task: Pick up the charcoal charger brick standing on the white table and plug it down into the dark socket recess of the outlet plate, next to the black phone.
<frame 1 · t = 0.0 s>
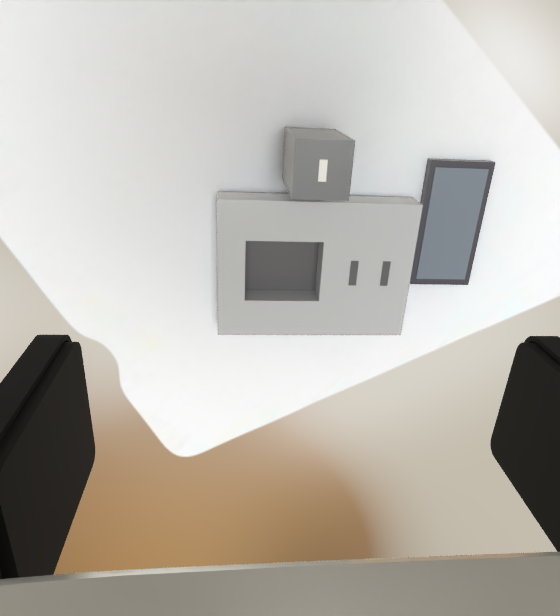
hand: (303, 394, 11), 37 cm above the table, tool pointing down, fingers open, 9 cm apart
outlet plate: (311, 261, 48), on the table
phone: (445, 222, 48), on the table
charger: (308, 154, 44), on the table
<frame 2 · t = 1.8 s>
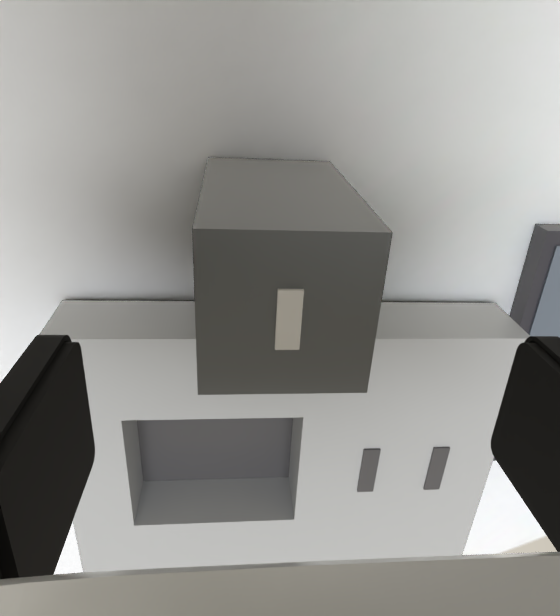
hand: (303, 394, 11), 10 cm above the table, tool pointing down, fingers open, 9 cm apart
outlet plate: (280, 424, 24), on the table
phone: (557, 344, 24), on the table
charger: (267, 218, 19), on the table
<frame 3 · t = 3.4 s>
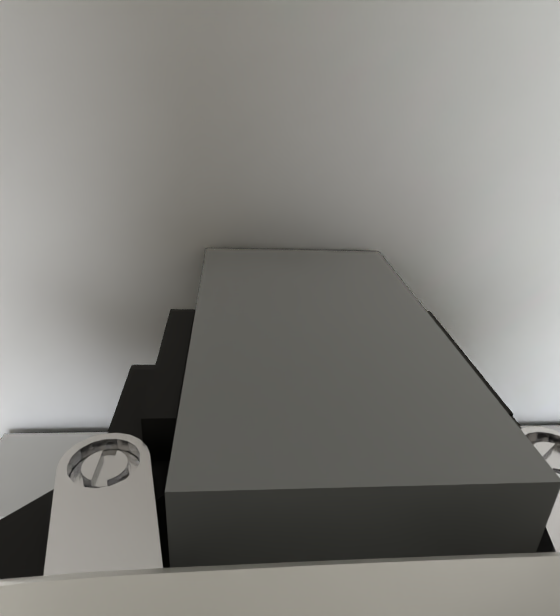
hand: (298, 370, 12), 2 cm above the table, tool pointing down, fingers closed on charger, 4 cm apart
outlet plate: (301, 574, 18), on the table
charger: (289, 326, 14), on the table, touching gripper
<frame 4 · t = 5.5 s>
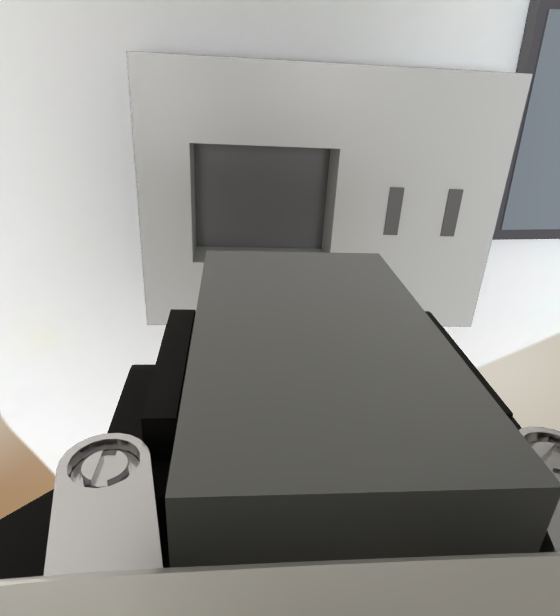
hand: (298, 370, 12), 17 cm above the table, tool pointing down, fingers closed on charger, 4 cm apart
outlet plate: (315, 195, 27), on the table
phone: (554, 126, 27), on the table
charger: (289, 329, 14), point 15 cm above the table, touching gripper
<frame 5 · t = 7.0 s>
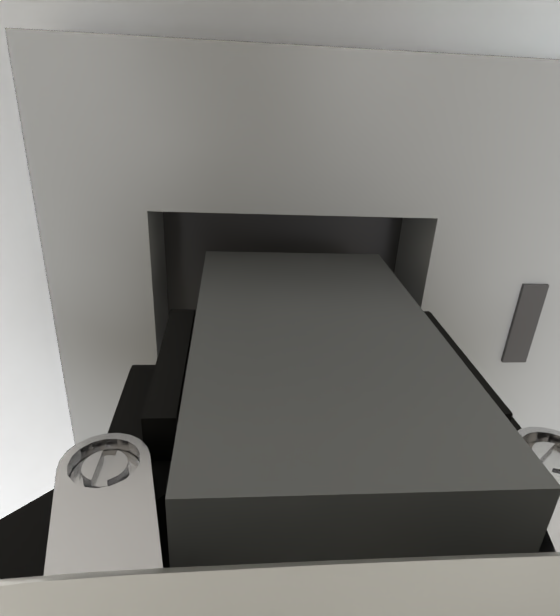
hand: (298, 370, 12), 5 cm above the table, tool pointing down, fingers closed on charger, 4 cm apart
outlet plate: (372, 280, 16), on the table
charger: (289, 329, 14), point 3 cm above the table, touching gripper
when the fingers open (4 cm above the table, at t = 7.9 s): charger stays where it is, resting on outlet plate.
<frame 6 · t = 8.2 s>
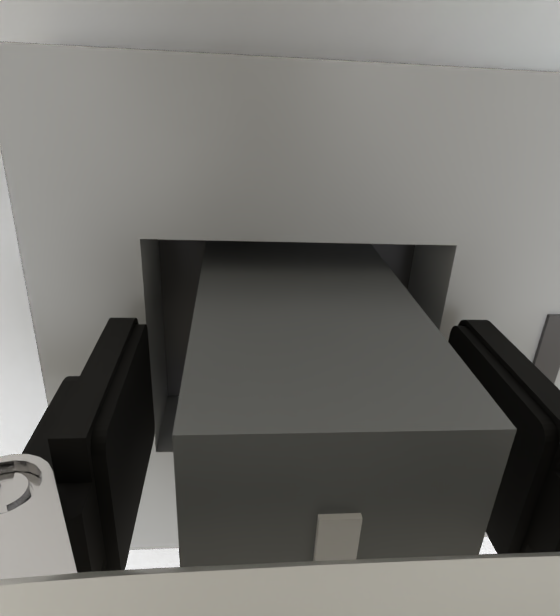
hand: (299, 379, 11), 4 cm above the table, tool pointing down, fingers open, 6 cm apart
outlet plate: (382, 305, 15), on the table
charger: (284, 312, 14), resting on outlet plate
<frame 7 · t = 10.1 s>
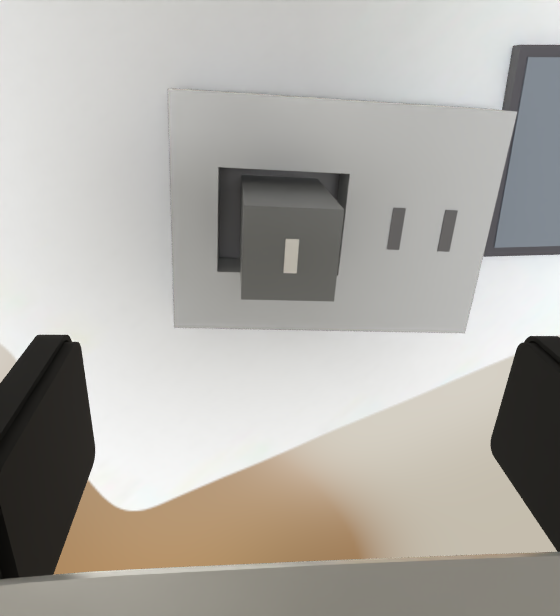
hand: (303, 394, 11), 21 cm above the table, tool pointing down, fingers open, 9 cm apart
outlet plate: (326, 213, 31), on the table
phone: (538, 156, 31), on the table
charger: (277, 213, 30), resting on outlet plate
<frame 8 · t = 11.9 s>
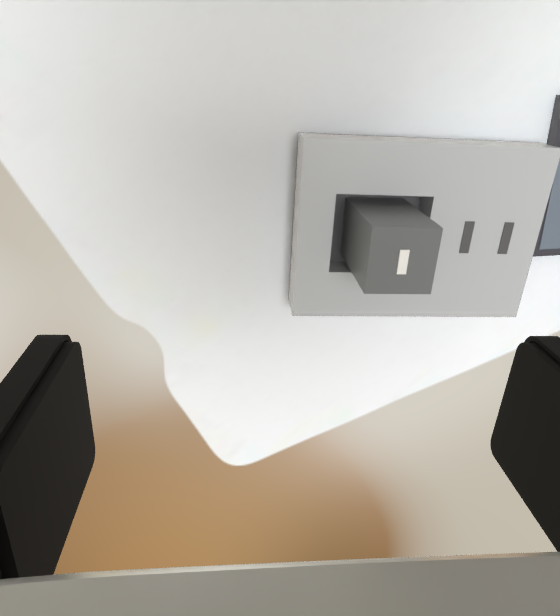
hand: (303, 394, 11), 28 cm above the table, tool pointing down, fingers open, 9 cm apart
outlet plate: (407, 224, 39), on the table
charger: (371, 226, 38), resting on outlet plate
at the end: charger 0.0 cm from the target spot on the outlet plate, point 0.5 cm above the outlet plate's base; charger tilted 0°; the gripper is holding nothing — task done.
